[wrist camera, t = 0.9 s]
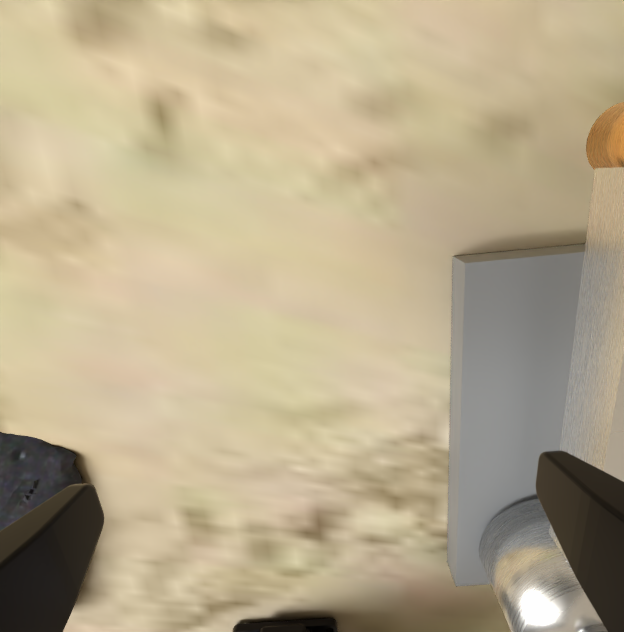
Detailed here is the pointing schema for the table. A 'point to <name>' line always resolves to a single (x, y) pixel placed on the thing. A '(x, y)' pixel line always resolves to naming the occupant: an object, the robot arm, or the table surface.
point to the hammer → (574, 414)
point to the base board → (505, 385)
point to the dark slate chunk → (31, 474)
